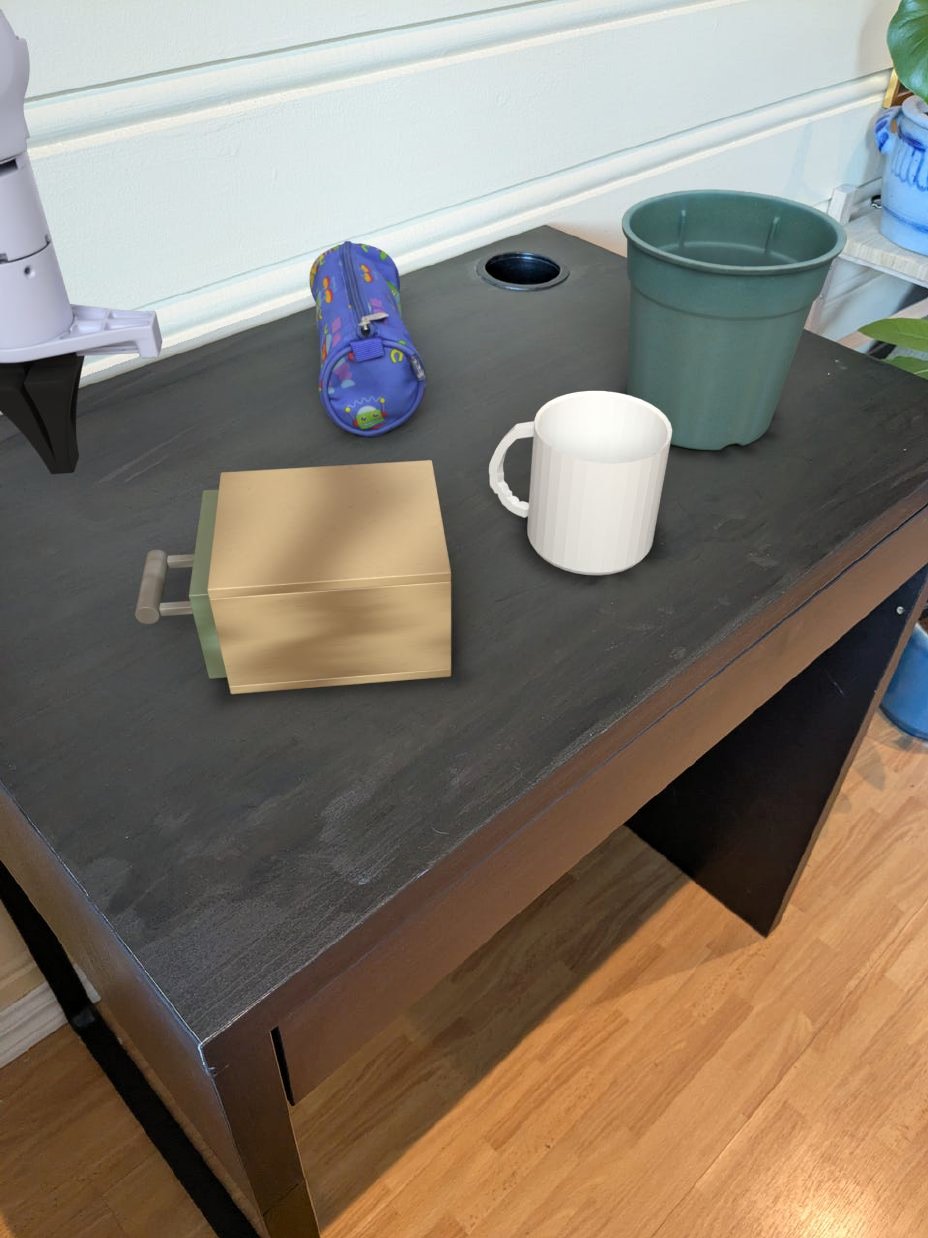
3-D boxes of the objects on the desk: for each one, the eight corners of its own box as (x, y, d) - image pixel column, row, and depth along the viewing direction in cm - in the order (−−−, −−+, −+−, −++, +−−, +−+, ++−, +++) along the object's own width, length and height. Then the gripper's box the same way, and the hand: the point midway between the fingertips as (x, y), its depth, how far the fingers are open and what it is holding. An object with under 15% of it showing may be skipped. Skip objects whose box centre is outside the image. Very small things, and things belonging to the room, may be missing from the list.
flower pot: (562, 395, 85) (579, 207, 74) (707, 352, 91) (741, 174, 80) (681, 489, 74) (721, 287, 63) (835, 434, 80) (896, 241, 69)
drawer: (142, 684, 57) (116, 600, 53) (161, 575, 65) (139, 493, 60) (414, 663, 59) (411, 579, 54) (402, 558, 66) (398, 477, 62)
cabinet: (230, 694, 58) (206, 589, 52) (240, 574, 66) (220, 471, 61) (451, 677, 59) (451, 572, 54) (433, 560, 68) (431, 459, 62)
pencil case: (429, 441, 79) (427, 332, 72) (324, 449, 78) (313, 339, 71) (400, 322, 95) (396, 223, 88) (312, 327, 94) (302, 228, 87)
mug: (670, 523, 71) (691, 412, 65) (623, 593, 65) (641, 478, 59) (525, 477, 75) (531, 368, 69) (468, 538, 69) (470, 426, 63)
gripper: (145, 211, 54) (190, 423, 63) (-127, 220, 52) (-41, 436, 62) (128, 262, 49) (180, 485, 58) (-175, 274, 47) (-72, 500, 56)
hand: (65, 464), depth 59 cm, fingers closed
